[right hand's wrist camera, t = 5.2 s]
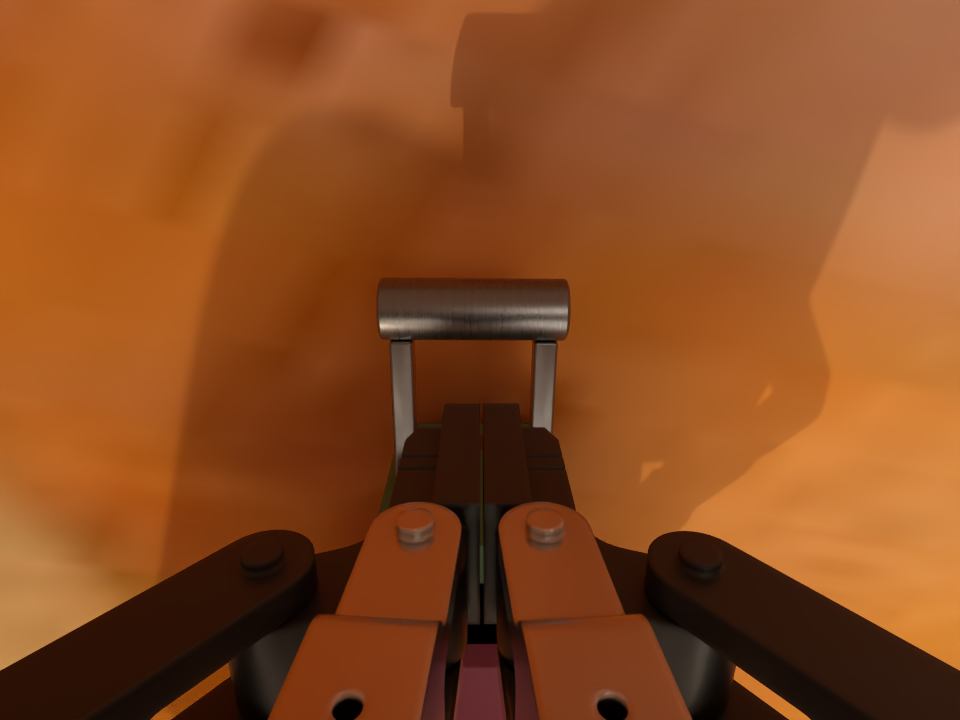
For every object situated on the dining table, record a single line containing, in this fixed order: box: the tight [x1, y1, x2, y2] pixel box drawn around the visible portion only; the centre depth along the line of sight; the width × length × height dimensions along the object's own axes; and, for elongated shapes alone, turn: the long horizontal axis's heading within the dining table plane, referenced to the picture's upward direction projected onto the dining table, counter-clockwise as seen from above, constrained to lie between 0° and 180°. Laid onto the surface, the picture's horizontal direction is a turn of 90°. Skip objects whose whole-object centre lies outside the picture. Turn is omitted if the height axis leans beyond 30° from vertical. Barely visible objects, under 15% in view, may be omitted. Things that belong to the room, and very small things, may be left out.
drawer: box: [377, 278, 570, 644], centre depth 19 cm, size 21×5×7 cm, turn 0°
